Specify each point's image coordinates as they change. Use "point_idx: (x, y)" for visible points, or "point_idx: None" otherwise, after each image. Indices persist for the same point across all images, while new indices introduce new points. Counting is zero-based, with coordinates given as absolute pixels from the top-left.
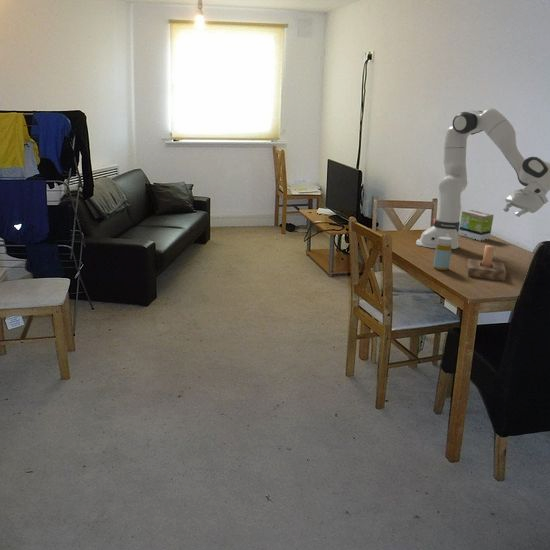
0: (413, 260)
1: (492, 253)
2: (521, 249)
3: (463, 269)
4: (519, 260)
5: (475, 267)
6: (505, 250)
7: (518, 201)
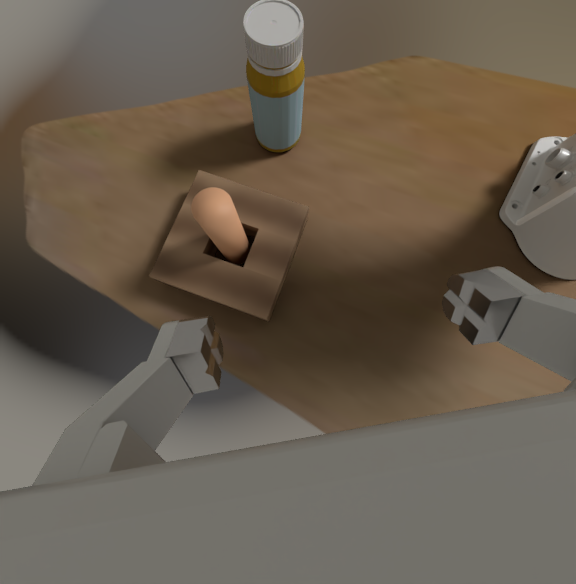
0: (354, 85)
1: (203, 229)
2: None
3: None
4: None
5: None
6: None
7: (466, 518)
